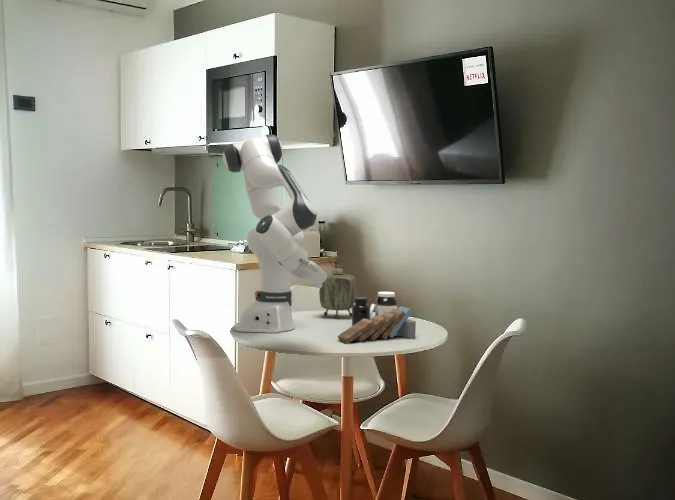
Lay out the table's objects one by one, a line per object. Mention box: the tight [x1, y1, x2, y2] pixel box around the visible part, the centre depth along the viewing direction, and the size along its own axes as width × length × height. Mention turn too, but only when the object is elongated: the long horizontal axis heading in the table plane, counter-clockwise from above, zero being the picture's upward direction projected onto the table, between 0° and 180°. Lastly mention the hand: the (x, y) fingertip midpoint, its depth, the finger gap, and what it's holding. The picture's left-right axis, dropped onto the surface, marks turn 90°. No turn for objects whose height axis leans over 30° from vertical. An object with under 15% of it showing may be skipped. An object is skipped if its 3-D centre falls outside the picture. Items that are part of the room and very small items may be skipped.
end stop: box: [394, 318, 417, 340], centre depth 244 cm, size 3×10×6 cm, turn 29°
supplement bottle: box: [351, 296, 371, 327], centre depth 255 cm, size 7×7×12 cm
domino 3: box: [365, 312, 397, 342], centre depth 239 cm, size 2×6×12 cm
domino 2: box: [353, 314, 386, 343], centre depth 237 cm, size 2×6×12 cm
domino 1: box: [337, 318, 375, 345], centre depth 234 cm, size 2×6×12 cm
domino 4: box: [377, 308, 405, 341], centre depth 241 cm, size 2×6×12 cm
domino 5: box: [388, 305, 413, 338], centre depth 242 cm, size 2×6×12 cm
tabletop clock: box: [318, 256, 357, 319], centre depth 279 cm, size 14×9×25 cm, turn 82°
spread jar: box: [369, 291, 398, 319], centre depth 273 cm, size 12×11×12 cm
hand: (319, 286), depth 226 cm, fingers closed
